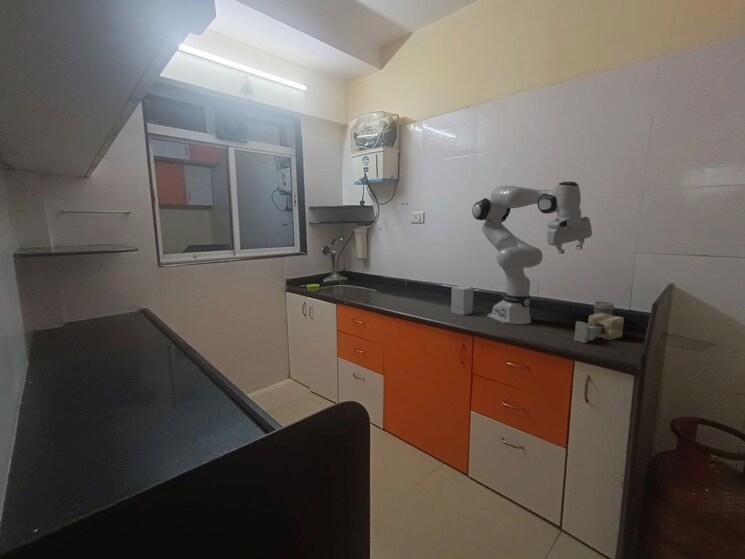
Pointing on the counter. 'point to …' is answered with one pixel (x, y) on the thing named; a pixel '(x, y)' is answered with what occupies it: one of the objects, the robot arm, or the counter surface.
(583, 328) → the grey elongated piece
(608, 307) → the coffee cup
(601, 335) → the block
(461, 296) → the supplement box
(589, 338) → the pale teal block
